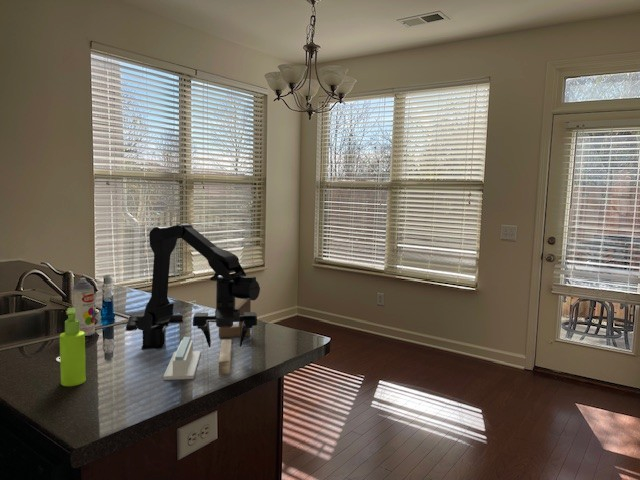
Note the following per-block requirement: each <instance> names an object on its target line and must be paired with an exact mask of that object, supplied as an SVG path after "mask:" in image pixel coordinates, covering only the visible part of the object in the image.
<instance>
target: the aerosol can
mask: <svg viewBox="0 0 640 480" xmlns="http://www.w3.org/2000/svg"><path fill="white" fill-rule="evenodd" d="M86 278H87V277H80V278H79V281H78V282H77V283H76V284H75V285H74V286H72V288H71V299H72V302H71V303H72V304H71V305H72V306H71V308H74V307H76V311H75V314H76V319H78V320H79V331H83V332H85V336H89V337H92V336H94V335H95V331H96V330H95V329H96V328H95V323H96V322H95V289H94V285H91V283H90V282H89V281H87V280H86ZM93 334H94V335H93ZM91 335H92V336H91Z"/></svg>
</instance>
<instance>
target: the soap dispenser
mask: <svg viewBox="0 0 640 480" xmlns="http://www.w3.org/2000/svg"><path fill="white" fill-rule="evenodd" d="M75 311H76V307H74V308H72V307H68V308H66V316H67V317H68V318H67V319H66V320H65V321H64V332H62V333H60V334H59V356H60V362H59V363H60V365H59V366H60V385H62V386H64V387H74V386H79V385H81V384H83V383H85V382H86V380H87V379H86V378H87V377H86V375H87V373H86V372H87V371H86V357H85V355H86V337H85V332H83V331H79V320H78V319H76V314H75Z"/></svg>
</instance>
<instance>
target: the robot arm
mask: <svg viewBox="0 0 640 480" xmlns="http://www.w3.org/2000/svg"><path fill="white" fill-rule="evenodd" d="M148 239H149V247H150V248H151V250H152V253H153V264H152V265H153V266H152V280H151V282H152V283H151V296H150V299H149V300H148V302H147V304H146V305H145V308H144V313H143V315H144V316H143V317H142V318H141V320H140V321H139V322H138V323H137V326H138V327H137V329H138V330H139V331H142V345H141V349H142V350H143V349H147V350H149V349H163V347H164V346H165V345H166V343H167V339H166V338H167V331H166V330H165V331H164V326H166V327H167V326H169V323H170V322H169V320H170V319H171V317H172V315H173V314H174V303H173V302H170V300H169V298H168V294H169V293H168V292H169V279H170V264H171V263H170V262H171V255H172V253H173V251H174V250H175V248H176V245H177V242H178V240H179V239H181V240H183V241H184V242H185V243H186V244H187V245H189V246H190V247H192V249H194V250H195V251H196V252H198V253H199V254H200V255H202V256H203V258H205V259H206V261H207V264H208V266H209V267H210V268H211V269H212V270H213V272H214V274H213V275H211V277H210V278H209V280H210V281H213V282H216V284H215V285H216V286H215V310H214V315H209V313H208V312H195V314H194V316H193V318H192V326H193V327H196V328H197V329H198V330H201V331H202V333H203V335H204V337H205V340H206V343H207V346H208V348H211V345H212V344H211V343H212V341H211V340H212V339H211V329H210V323H215V327H218V328H219V327H225V326H227V327H232V326H233V325H234V323H239V322H243V324H242V331H241V336H240V339H239V347H242V345H243V342H244V339H245V338H246V336H245V335H246V333H247V331H248V329H249V328H250V329H252V328H253V327H254V326H257V325H258V314H257V313H256V312H255V311H250V312H244V316H240V309H235V308H236V299H241V300H244V299H247V300H251V301H256V300H257V299H258V297H259V296H260V293H261V286H260V284H259V282H258V281H257V277H256V276H247V274H246V272H245V270H244V268H243V266H242V265H241V263H240V259H239V257H238V256H237V255H236V254H235V253H232V252H230V251H228V250H226V249H223V248H220V247H218V246H217V245H216V244H214V243H213V242H211V241H210V240H209V239H208V238H207V237H205V236H204V235H203V234H201V233H200V232H199V231H198V230H196V229H195V227H194V226H193V225H192V224H190V223H180V224H179V223H178V224H177V225H173V226H171V225H170V226H168V225H167V226H158V227H157V226H155V227H154V228H153V227H152V229H151V230H150V231H149V238H148Z"/></svg>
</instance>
